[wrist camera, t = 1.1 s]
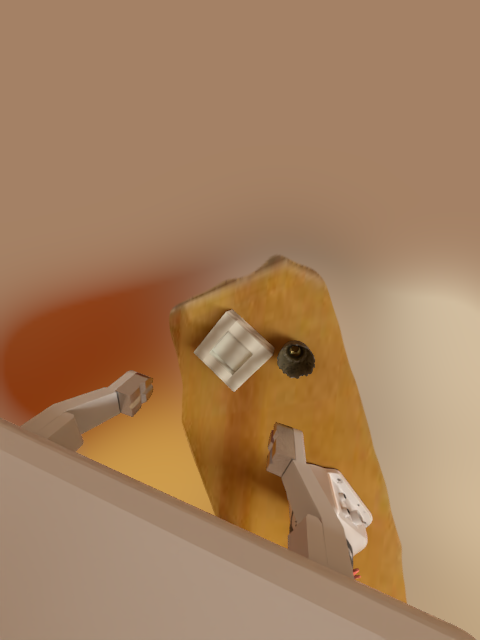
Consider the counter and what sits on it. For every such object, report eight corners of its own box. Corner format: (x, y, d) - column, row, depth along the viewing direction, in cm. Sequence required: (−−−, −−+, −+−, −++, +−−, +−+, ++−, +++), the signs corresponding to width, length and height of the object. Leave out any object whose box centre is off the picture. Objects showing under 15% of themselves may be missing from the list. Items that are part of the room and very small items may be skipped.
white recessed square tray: (274, 347, 44) (272, 354, 39) (239, 381, 49) (234, 391, 44) (232, 309, 45) (225, 311, 41) (202, 346, 50) (193, 352, 46)
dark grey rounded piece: (284, 365, 44) (283, 381, 36) (275, 338, 43) (272, 349, 35) (315, 358, 41) (320, 375, 33) (305, 330, 40) (308, 340, 33)
